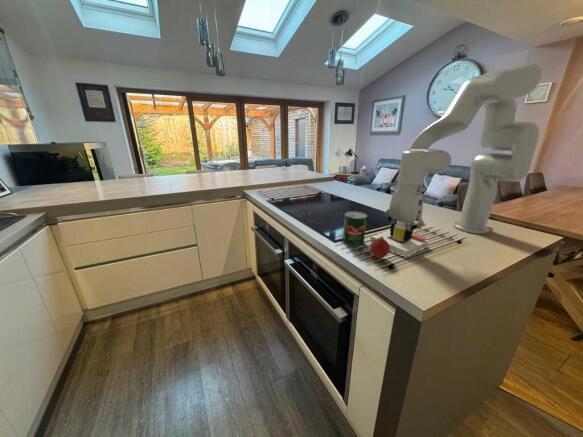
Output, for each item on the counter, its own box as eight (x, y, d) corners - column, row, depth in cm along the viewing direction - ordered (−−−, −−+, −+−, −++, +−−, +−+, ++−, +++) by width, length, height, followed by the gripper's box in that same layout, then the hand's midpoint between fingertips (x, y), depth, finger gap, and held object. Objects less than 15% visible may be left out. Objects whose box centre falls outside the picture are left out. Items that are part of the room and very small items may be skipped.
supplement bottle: (407, 245, 83) (411, 223, 80) (393, 243, 84) (397, 222, 81) (404, 239, 88) (408, 218, 85) (391, 238, 89) (394, 217, 86)
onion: (365, 255, 79) (368, 234, 76) (378, 252, 81) (381, 231, 78) (377, 264, 74) (381, 241, 71) (391, 260, 76) (395, 238, 73)
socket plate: (392, 234, 96) (394, 226, 94) (427, 247, 85) (429, 238, 83) (370, 242, 88) (371, 234, 87) (405, 258, 77) (406, 248, 76)
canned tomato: (356, 236, 93) (359, 210, 90) (368, 245, 86) (371, 216, 82) (338, 238, 91) (340, 212, 87) (349, 247, 84) (352, 219, 80)
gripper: (440, 191, 74) (428, 243, 81) (392, 182, 88) (386, 227, 94) (428, 195, 71) (417, 249, 77) (380, 185, 84) (373, 231, 90)
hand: (400, 236), depth 85 cm, fingers closed on supplement bottle, 4 cm apart
